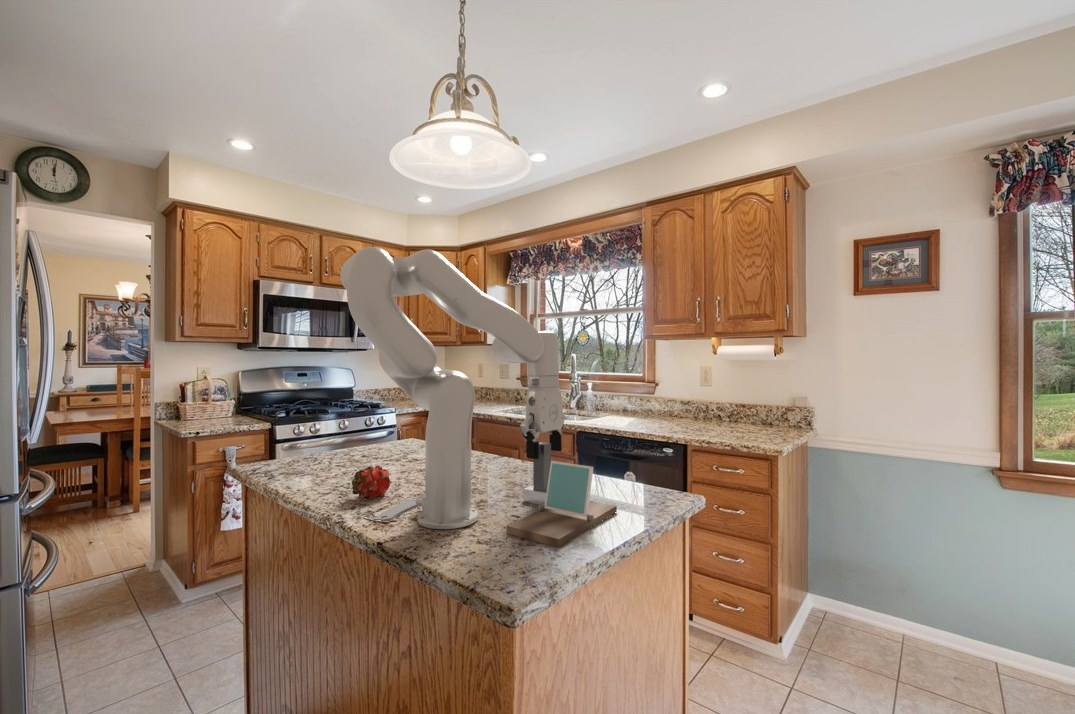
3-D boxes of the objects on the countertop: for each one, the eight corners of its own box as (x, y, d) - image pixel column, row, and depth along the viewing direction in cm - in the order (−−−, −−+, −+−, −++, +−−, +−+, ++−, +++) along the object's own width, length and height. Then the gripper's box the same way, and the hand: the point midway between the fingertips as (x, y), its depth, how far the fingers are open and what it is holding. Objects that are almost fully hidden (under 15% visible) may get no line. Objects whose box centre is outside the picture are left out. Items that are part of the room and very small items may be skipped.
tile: (546, 507, 103) (544, 507, 102) (553, 461, 105) (550, 460, 104) (587, 516, 97) (585, 516, 96) (593, 466, 99) (591, 466, 98)
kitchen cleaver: (427, 488, 124) (458, 490, 119) (428, 492, 124) (458, 495, 119) (350, 515, 103) (384, 520, 98) (350, 520, 103) (384, 525, 98)
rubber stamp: (551, 507, 110) (551, 446, 110) (523, 501, 114) (523, 442, 114) (560, 503, 113) (560, 443, 113) (533, 497, 118) (533, 440, 118)
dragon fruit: (351, 512, 111) (382, 504, 122) (378, 492, 109) (407, 487, 121) (336, 479, 113) (369, 475, 125) (363, 460, 112) (393, 458, 123)
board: (505, 533, 93) (505, 519, 93) (568, 502, 113) (568, 491, 113) (560, 547, 86) (560, 532, 86) (618, 513, 106) (618, 500, 106)
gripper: (535, 386, 105) (536, 463, 105) (575, 381, 119) (576, 449, 119) (508, 385, 109) (510, 459, 109) (549, 380, 123) (551, 446, 123)
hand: (544, 454), depth 114 cm, fingers open, 9 cm apart
